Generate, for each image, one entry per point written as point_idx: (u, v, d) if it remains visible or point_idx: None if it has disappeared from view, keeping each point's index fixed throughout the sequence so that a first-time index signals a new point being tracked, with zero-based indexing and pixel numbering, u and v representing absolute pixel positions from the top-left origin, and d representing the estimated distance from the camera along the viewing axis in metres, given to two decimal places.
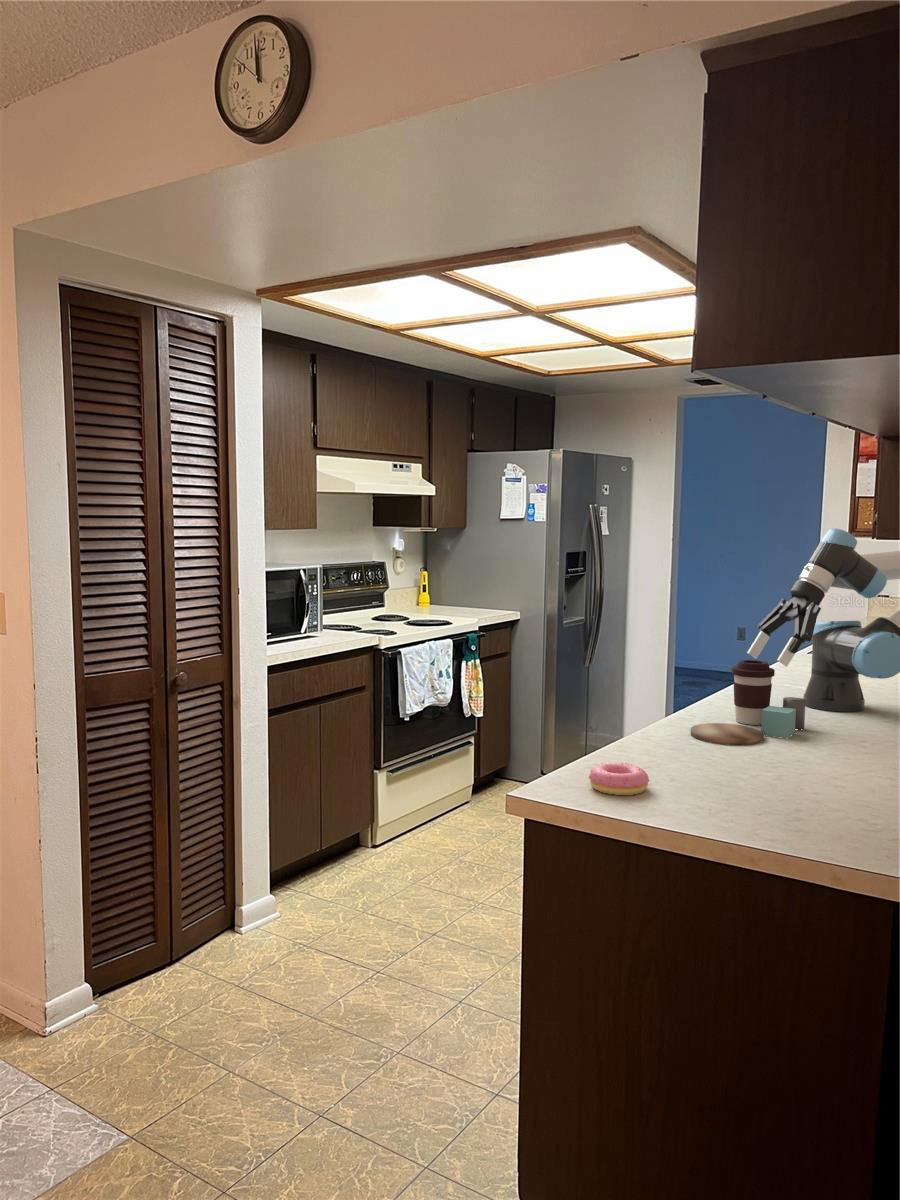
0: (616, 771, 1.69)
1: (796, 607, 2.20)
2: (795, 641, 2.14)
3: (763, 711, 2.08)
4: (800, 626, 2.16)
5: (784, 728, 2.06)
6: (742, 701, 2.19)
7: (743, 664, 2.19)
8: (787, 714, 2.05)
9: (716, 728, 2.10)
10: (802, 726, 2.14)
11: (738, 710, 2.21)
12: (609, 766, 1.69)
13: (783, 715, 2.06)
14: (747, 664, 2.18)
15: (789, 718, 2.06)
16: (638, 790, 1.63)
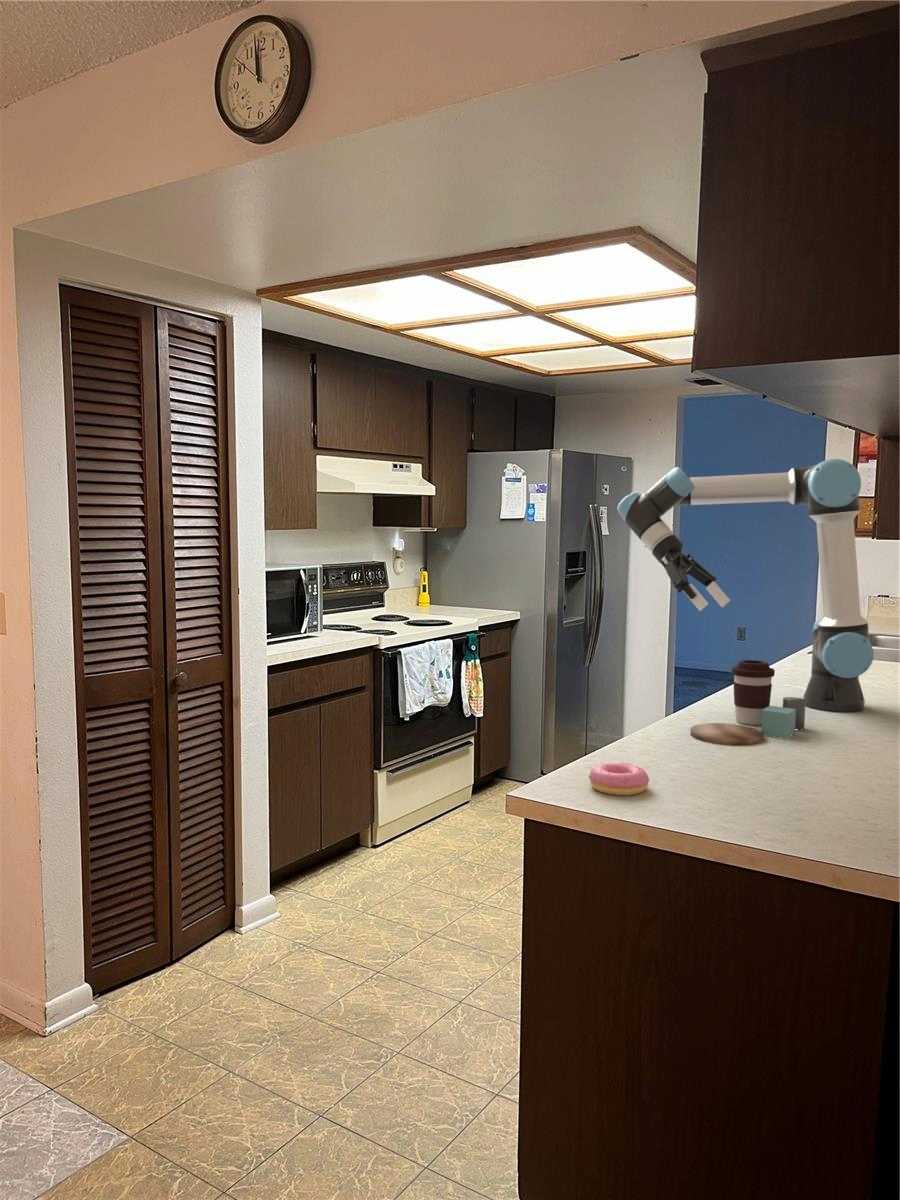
0: (616, 771, 1.69)
1: None
2: None
3: (763, 711, 2.08)
4: None
5: (784, 728, 2.06)
6: (742, 701, 2.19)
7: (743, 664, 2.19)
8: (787, 714, 2.05)
9: (716, 728, 2.10)
10: (802, 726, 2.14)
11: (738, 710, 2.21)
12: (609, 766, 1.69)
13: (783, 715, 2.06)
14: (747, 664, 2.18)
15: (789, 718, 2.06)
16: (638, 790, 1.63)
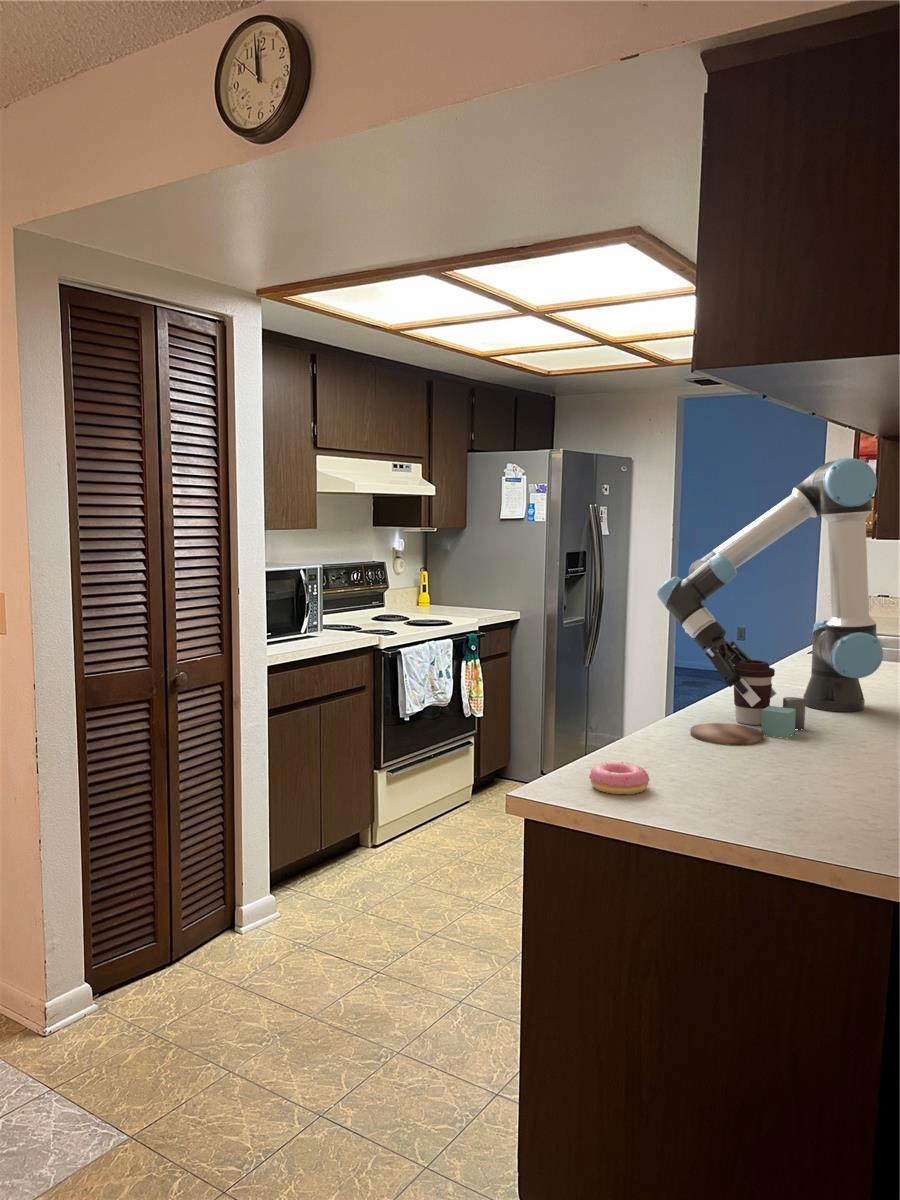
0: (616, 770, 1.69)
1: None
2: None
3: (763, 711, 2.08)
4: None
5: (784, 728, 2.06)
6: (742, 701, 2.19)
7: (743, 664, 2.19)
8: (787, 714, 2.05)
9: (716, 728, 2.10)
10: (802, 726, 2.14)
11: (738, 710, 2.21)
12: (609, 765, 1.70)
13: (783, 715, 2.06)
14: (747, 664, 2.18)
15: (789, 718, 2.06)
16: (638, 789, 1.63)
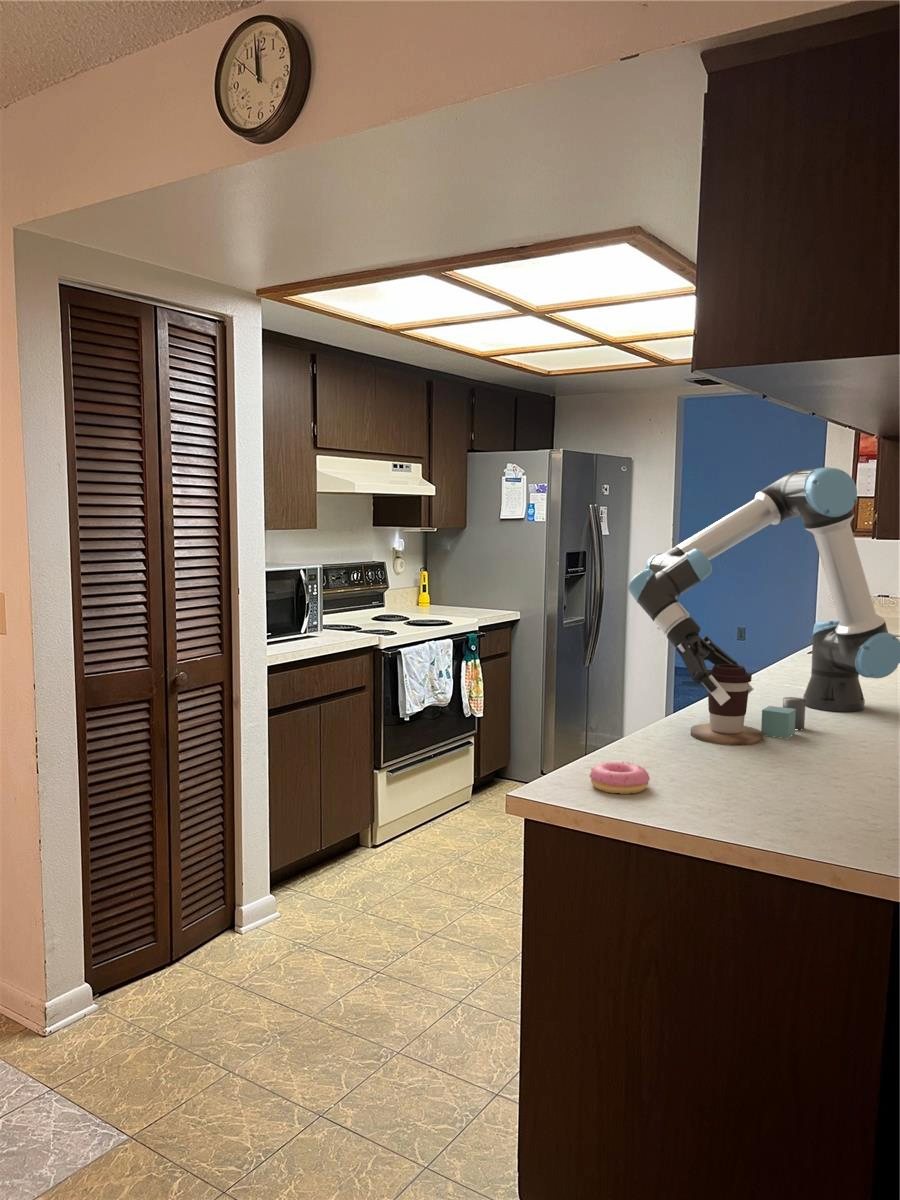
0: (617, 770, 1.70)
1: None
2: None
3: (763, 711, 2.08)
4: None
5: (784, 728, 2.06)
6: (716, 708, 2.05)
7: (718, 668, 2.05)
8: (787, 714, 2.05)
9: None
10: (802, 726, 2.14)
11: (712, 718, 2.06)
12: (610, 765, 1.70)
13: (783, 715, 2.06)
14: (722, 668, 2.04)
15: (789, 718, 2.06)
16: (638, 789, 1.63)
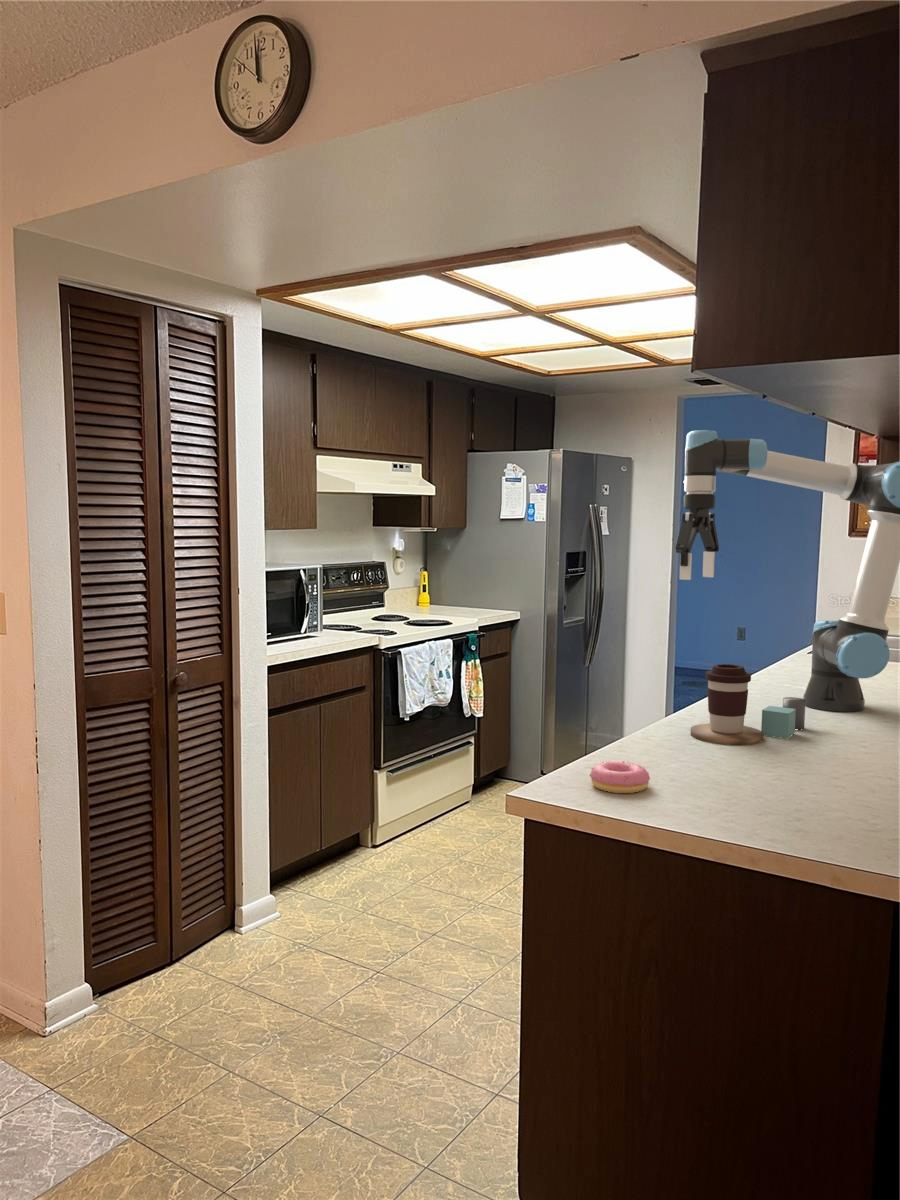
0: (617, 769, 1.70)
1: None
2: None
3: (763, 711, 2.08)
4: None
5: (784, 728, 2.06)
6: (716, 708, 2.05)
7: (717, 669, 2.05)
8: (787, 714, 2.05)
9: None
10: (802, 726, 2.14)
11: (712, 718, 2.06)
12: (610, 764, 1.70)
13: (783, 715, 2.06)
14: (721, 669, 2.04)
15: (789, 718, 2.06)
16: (638, 788, 1.64)
